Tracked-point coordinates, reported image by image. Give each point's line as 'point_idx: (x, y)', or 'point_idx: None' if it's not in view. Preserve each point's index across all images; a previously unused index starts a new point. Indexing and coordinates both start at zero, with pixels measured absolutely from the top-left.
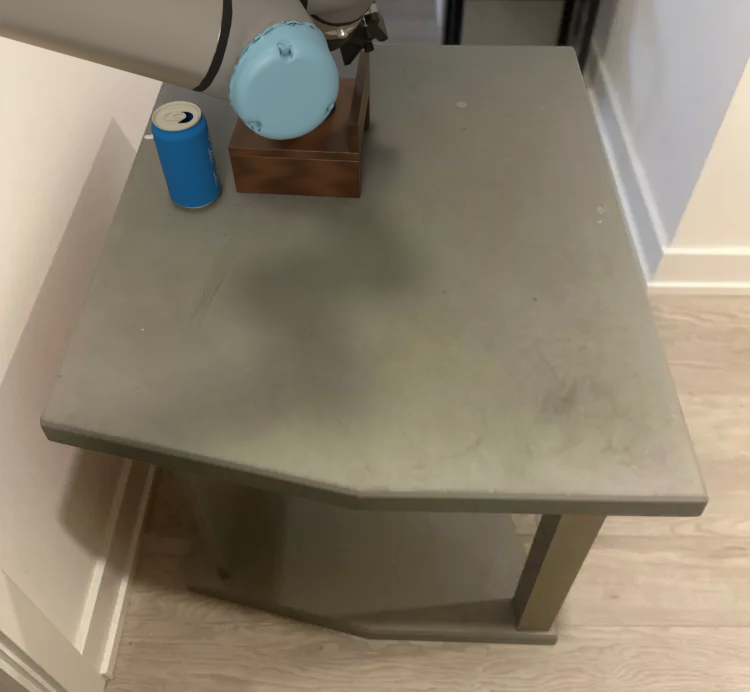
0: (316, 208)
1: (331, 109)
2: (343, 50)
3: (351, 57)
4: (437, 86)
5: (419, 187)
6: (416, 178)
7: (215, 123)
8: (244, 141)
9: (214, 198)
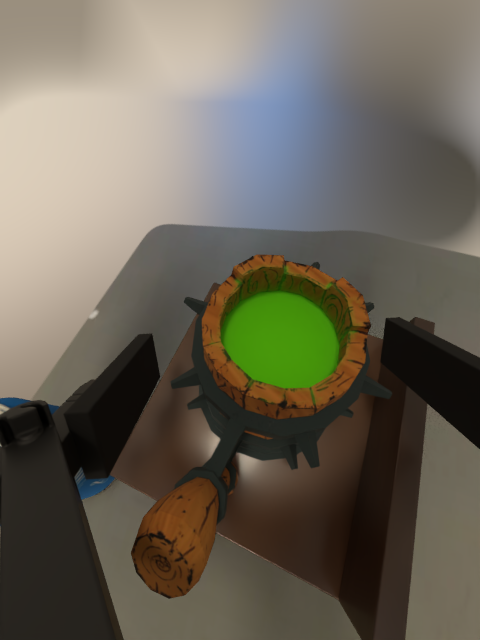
0: (249, 559)
1: (323, 431)
2: (397, 348)
3: (423, 397)
4: (465, 318)
5: (431, 566)
6: (427, 535)
7: (169, 311)
8: (143, 465)
9: (103, 489)
